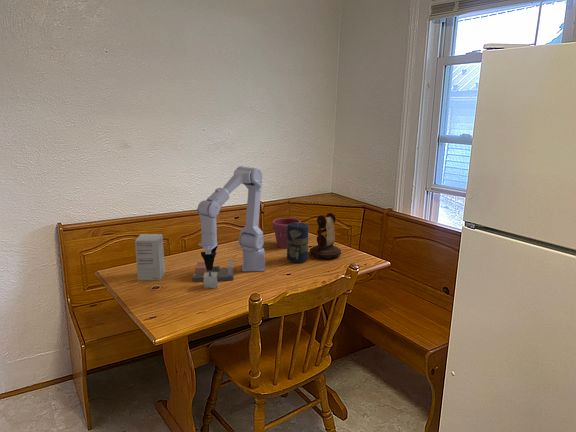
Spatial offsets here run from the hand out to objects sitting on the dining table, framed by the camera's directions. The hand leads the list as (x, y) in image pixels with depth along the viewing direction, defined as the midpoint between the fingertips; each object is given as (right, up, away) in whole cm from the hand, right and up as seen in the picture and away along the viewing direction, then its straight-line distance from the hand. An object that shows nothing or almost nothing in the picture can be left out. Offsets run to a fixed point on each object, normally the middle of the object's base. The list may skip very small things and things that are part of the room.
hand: (210, 266), depth 172 cm
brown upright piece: (+48, +1, +39) cm, 62 cm away
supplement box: (-26, -6, +12) cm, 29 cm away
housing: (0, -8, +2) cm, 8 cm away
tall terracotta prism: (-5, -4, +11) cm, 13 cm away
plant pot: (+29, +4, +53) cm, 61 cm away
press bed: (-1, -6, +12) cm, 13 cm away
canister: (+34, -1, +32) cm, 47 cm away
